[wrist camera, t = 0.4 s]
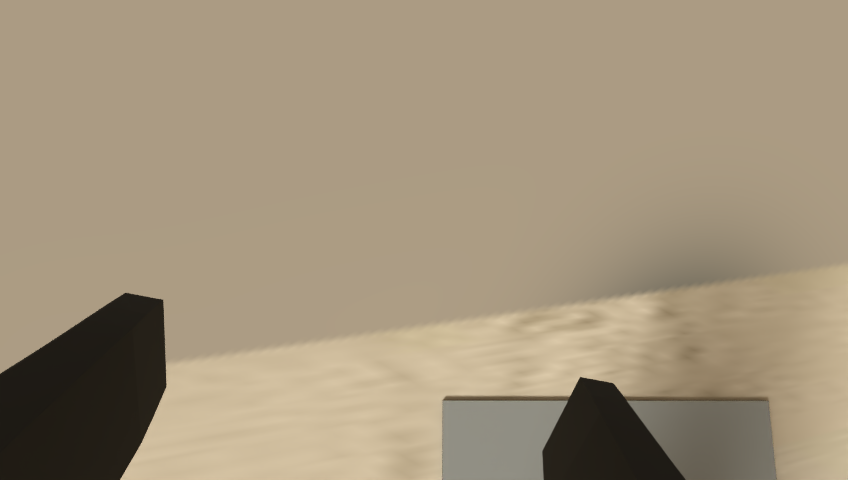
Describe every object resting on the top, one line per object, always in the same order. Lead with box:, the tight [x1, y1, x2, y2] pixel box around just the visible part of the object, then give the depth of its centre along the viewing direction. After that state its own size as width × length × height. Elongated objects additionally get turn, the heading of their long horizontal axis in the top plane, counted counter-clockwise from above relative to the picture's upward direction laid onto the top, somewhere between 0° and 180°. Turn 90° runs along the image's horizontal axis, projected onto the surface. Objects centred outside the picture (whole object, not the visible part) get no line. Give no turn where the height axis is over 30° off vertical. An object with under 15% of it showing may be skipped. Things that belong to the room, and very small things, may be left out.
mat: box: [442, 400, 777, 480], centre depth 39 cm, size 9×24×1 cm, turn 89°
